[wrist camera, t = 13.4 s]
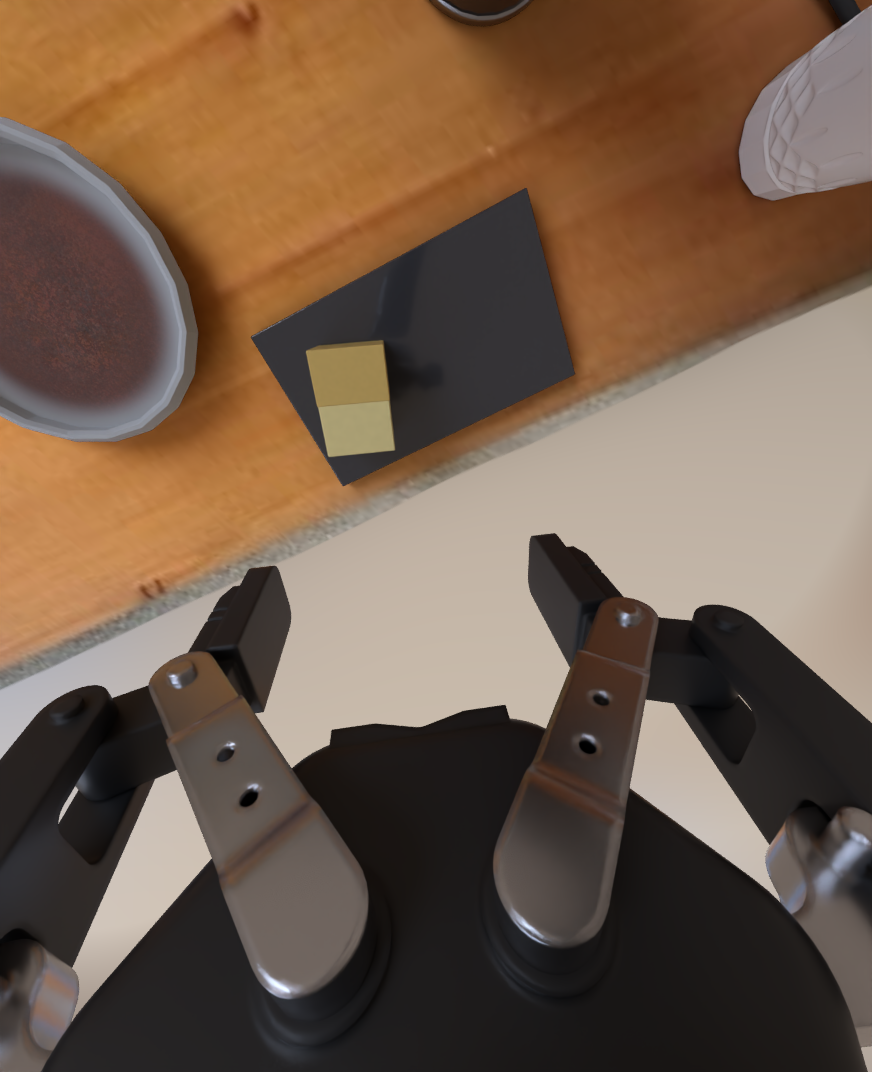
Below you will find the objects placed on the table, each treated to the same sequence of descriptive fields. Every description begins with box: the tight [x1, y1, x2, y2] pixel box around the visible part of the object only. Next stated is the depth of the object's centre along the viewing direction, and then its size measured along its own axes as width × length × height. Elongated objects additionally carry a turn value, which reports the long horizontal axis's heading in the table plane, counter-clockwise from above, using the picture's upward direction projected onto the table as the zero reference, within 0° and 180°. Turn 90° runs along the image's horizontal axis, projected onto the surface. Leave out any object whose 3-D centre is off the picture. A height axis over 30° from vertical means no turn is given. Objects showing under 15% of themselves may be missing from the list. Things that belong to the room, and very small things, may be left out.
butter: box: [306, 340, 395, 457], centre depth 28 cm, size 4×6×5 cm
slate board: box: [251, 188, 575, 486], centre depth 30 cm, size 20×12×1 cm, turn 114°
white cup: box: [739, 4, 872, 201], centre depth 22 cm, size 8×8×10 cm
